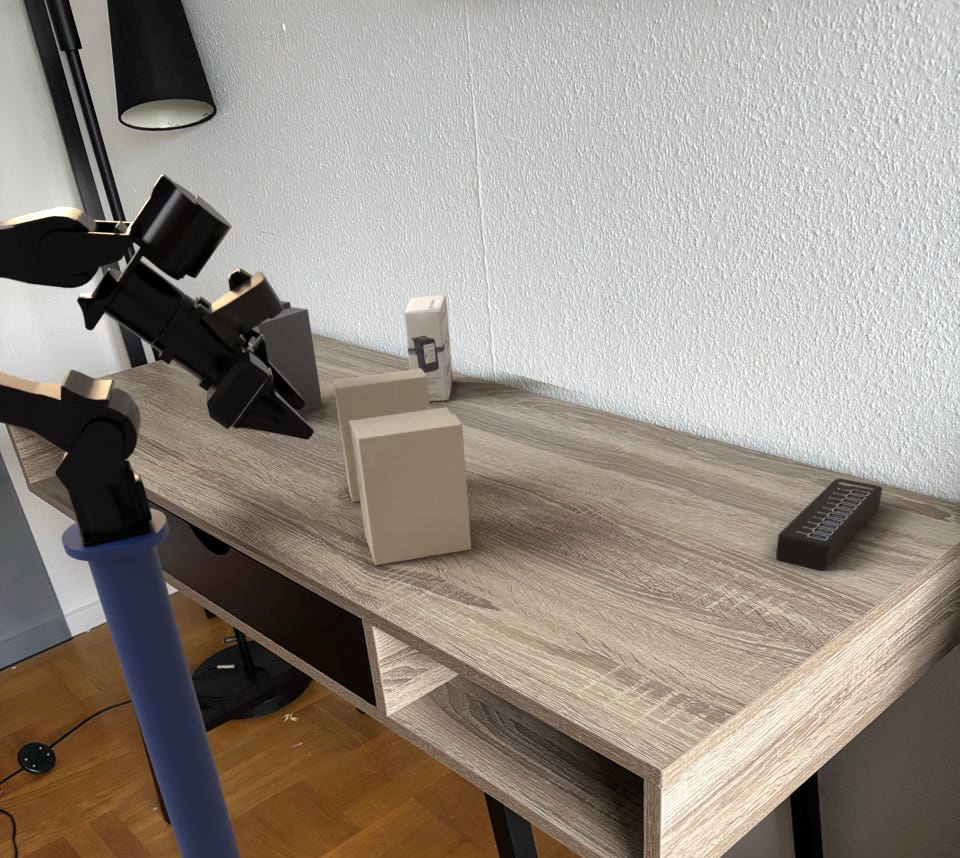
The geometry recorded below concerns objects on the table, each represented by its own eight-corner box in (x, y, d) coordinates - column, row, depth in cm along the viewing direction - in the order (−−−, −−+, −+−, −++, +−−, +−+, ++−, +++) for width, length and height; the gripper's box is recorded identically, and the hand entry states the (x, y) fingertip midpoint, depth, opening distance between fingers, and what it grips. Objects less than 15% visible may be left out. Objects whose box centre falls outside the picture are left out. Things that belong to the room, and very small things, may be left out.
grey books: (269, 427, 119) (250, 322, 113) (236, 419, 123) (215, 317, 116) (324, 405, 126) (309, 304, 119) (291, 398, 129) (274, 299, 122)
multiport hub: (773, 559, 82) (776, 535, 81) (833, 499, 91) (836, 477, 90) (824, 571, 80) (828, 546, 78) (879, 508, 89) (884, 486, 88)
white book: (352, 502, 98) (336, 388, 92) (349, 491, 100) (332, 379, 94) (437, 489, 99) (426, 376, 93) (431, 478, 102) (421, 368, 96)
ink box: (418, 383, 132) (409, 295, 125) (453, 381, 131) (446, 293, 125) (412, 402, 124) (402, 310, 118) (449, 401, 124) (442, 308, 118)
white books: (375, 565, 86) (358, 438, 79) (365, 536, 91) (348, 415, 84) (471, 549, 87) (462, 424, 81) (456, 521, 92) (446, 401, 86)
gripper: (219, 264, 76) (370, 382, 84) (217, 231, 92) (345, 333, 100) (143, 373, 79) (296, 478, 87) (153, 323, 95) (282, 415, 102)
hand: (307, 420), depth 94 cm, fingers open, 9 cm apart
